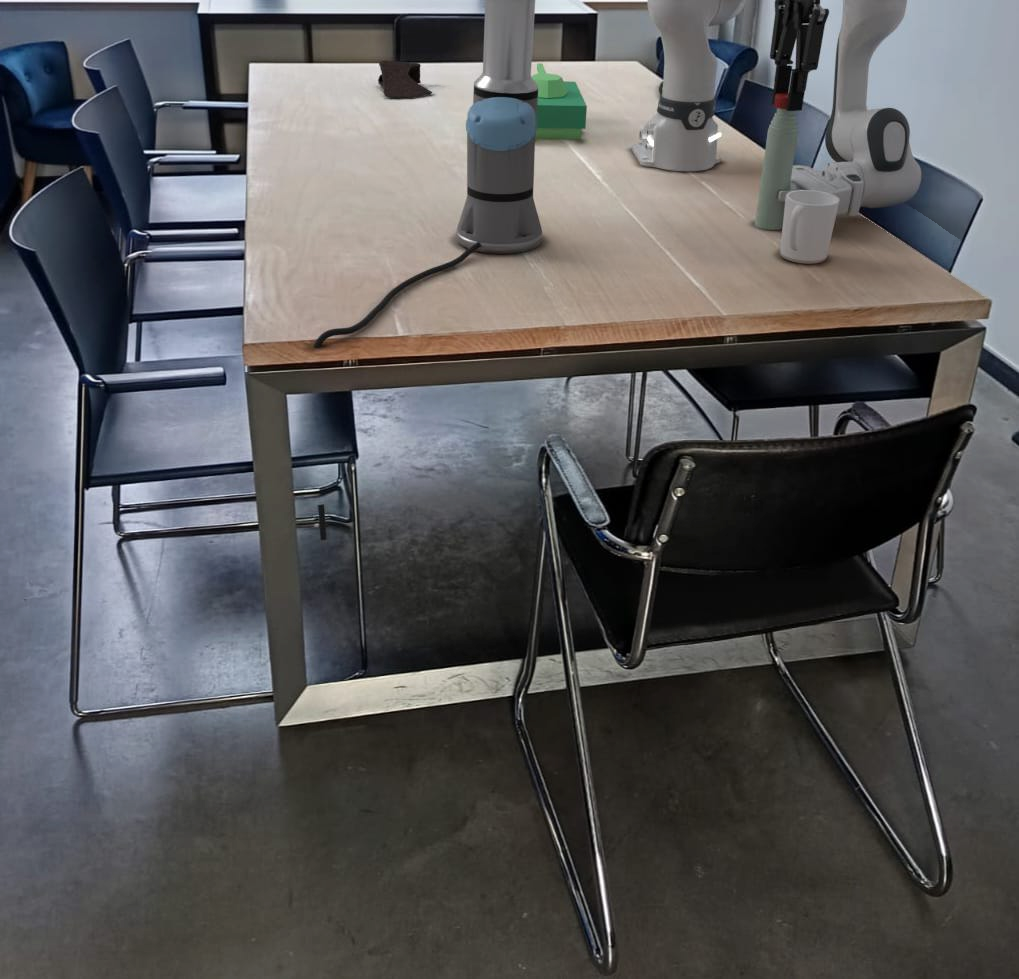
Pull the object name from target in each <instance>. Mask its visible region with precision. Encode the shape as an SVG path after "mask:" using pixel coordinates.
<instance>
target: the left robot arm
mask: <svg viewBox="0 0 1019 979" xmlns="http://www.w3.org/2000/svg"><path fill="white" fill-rule="evenodd" d="M484 1H485V4H484V26H483V27H484V28H483V29H484V30H483V35H484V36H483V53H482V54H483V56H482V72H481V75H479V77H478V78H476V80H475V81H473V94H472V95H473V98H472V105H471V106H470V107H469V109H468V111H467V117H466V120H465V121H466V122H465V130H466V192H467V193H466V198H465V202H464V205H463V209H462V211H461V214H460V218H459V220H458V224H457V227H456V241H457V243H458V244H459V245H461V246H462V247H464V248H466V250H465V251H464V252H462V254H461V255H459V256H458V257H456V258H454V259H453V260H451V261H448V262H446V263H443V264H440V265H437V266H434V267H431V268H428V269H426V270H424V271H422V272H420V273H417V274H416V275H414V276H411V277H410V278H407V279H406V280H404V281H403V282H401V283H400V284H398V285H397V286H395V287H393V288H392V289H390V291H389V292H388V293H387V294H386V295H385V296H384V297H383V299H381V301H380V302H379V303H378V304H377V305H376V306H375V307H374V308H373V309H372V310H371V311H370V312H369V313H368V314H367V315H366V316H365V317H364V318H363V319H362V320H361V321H359V322H357V323H356V324H354V325H352V326H348V327H338V328H331V329H328V330H326V331H324V332H323V333H321V334H320V335H319V336H318V338H317V339H316V340H315V342H314V344H313V347H312V348H313V349H319V348H321V347H322V345H323V343H324V342H325V341H326V340H328V339H329V338H331V337H336V336H346V335H347V336H348V335H351V334H354V333H356V332H358V331H360V330H362V329H363V328H365V327H366V326H367V325H368V324H370V323H371V322H372V321H373V320H374V319H375V318H376V317H377V316H378V315H379V313H381V312H382V311H383V310H384V309H385V307H387V305H388V304H389V302H391V300H392V299H393V298H394V297H395V296H396V295H398V294H399V293H400V292H402V291H403V290H404V289H406V288H407V287H409V286H411V285H412V284H415V283H417V282H419V281H421V280H423V279H425V278H426V277H430V276H432V275H434V274H437V273H441V272H443V271H445V270H449V269H451V268H453V267H456V266H457V265H460V264H461V263H462V262H463V261H464V260H466V259H467V258H468V257H469V256H470V255H472V254H473V253H474V252H479V253H486V254H497V255H499V254H500V255H506V254H507V255H508V254H517V253H524V252H527V251H530V250H533V249H536V248H538V247H539V246H540V245H541V244H542V243H543V229H542V224H541V221H540V220H541V219H540V218H539V214H538V213H539V212H538V210H537V206H536V204H535V199H534V184H535V181H534V180H535V157H536V156H535V151H536V140H535V136H536V131H537V105H538V88H539V87H538V84H537V83H536V82H535V81H534V80H533V78H532V77H531V76H532V64H533V63H532V62H533V48H534V47H533V45H534V31H535V30H534V29H535V28H534V27H535V13H536V11H535V10H536V0H484ZM829 14H830V10H829V8H823V7H822V5H821V0H774V20H773V27H772V36H771V44H770V52H769V58H770V60H773V61H774V65H775V73H774V78H773V79H774V81H773V82H774V83H773V89H772V90H773V91H772V96H771V97H772V98H771V105H773V106H774V101H775V96H776V94H777V93H789V95H788V102H787V108H786V110H787V111H795V112H799V111H802V110H803V105H804V99H805V98H804V97H805V92H806V90H807V84H808V79H809V78H808V77H809V73H810V72H812V71H817V70H818V67H819V62H820V55H821V51H822V45H823V38H824V33H825V27H826V23H827V20H828V18H829ZM794 49H795V68H793V64H794V61H793V60H792V56H793V52H794ZM317 511H318V523H319V537H320V538H319V539H320V540H321V541H323V542H324V541H327V525H326V513H325V504H317Z"/></svg>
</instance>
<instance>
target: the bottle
mask: <svg viewBox="0 0 1019 979" xmlns="http://www.w3.org/2000/svg"><path fill="white" fill-rule="evenodd" d="M796 116H797V114H796V111H787V110H786V109H780V108H776V112H775V113H774V116H773V117H772V120H771V121H770V124H769V126H768V128H767V134H766V143H765V149H764V156H763V164H762V171H761V178H760V184H759V192H758V199H757V206H756V213H755V221H754V226H755V227H756V228H758V229H762V230H767V231H777V230H778V231H779V230H782V228H783V219H784V209H785V201H779V200H778V199H777V198H776V195H777V191H778V190H782V189H786V190H789V188H790V181H791V175H792V168H793V165H794V162H795V154H796V148H797V142H798V135H799V130H798V129H799V126H798V122H797V118H796Z"/></svg>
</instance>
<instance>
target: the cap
mask: <svg viewBox="0 0 1019 979" xmlns="http://www.w3.org/2000/svg"><path fill="white" fill-rule="evenodd" d="M788 95H789V92H788V93H777V94H776V96H775V101H774V105H773V106H774V108H776V109H777V108H780V109H786V108H787V102H788Z"/></svg>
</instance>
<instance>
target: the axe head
mask: <svg viewBox="0 0 1019 979" xmlns="http://www.w3.org/2000/svg"><path fill="white" fill-rule="evenodd" d="M378 66H379V68H380V72H381V74H379V75H378V79H377V84H378V85H379V86H380V87H381V88H382V89H383V95H384V96H385V97H388V98H394V99H395V98H396V99H403V98H405V99H406V98H407V99H411V98H418V97H425V96H429V95H432V94H433V91H431V90H430V89H428V88H427V87H425V86H422V85H421V84H422V82H421V63H419V62H410V61H408V62H407V61H397V60H388V59H387V60H380V61H379V62H378Z"/></svg>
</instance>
